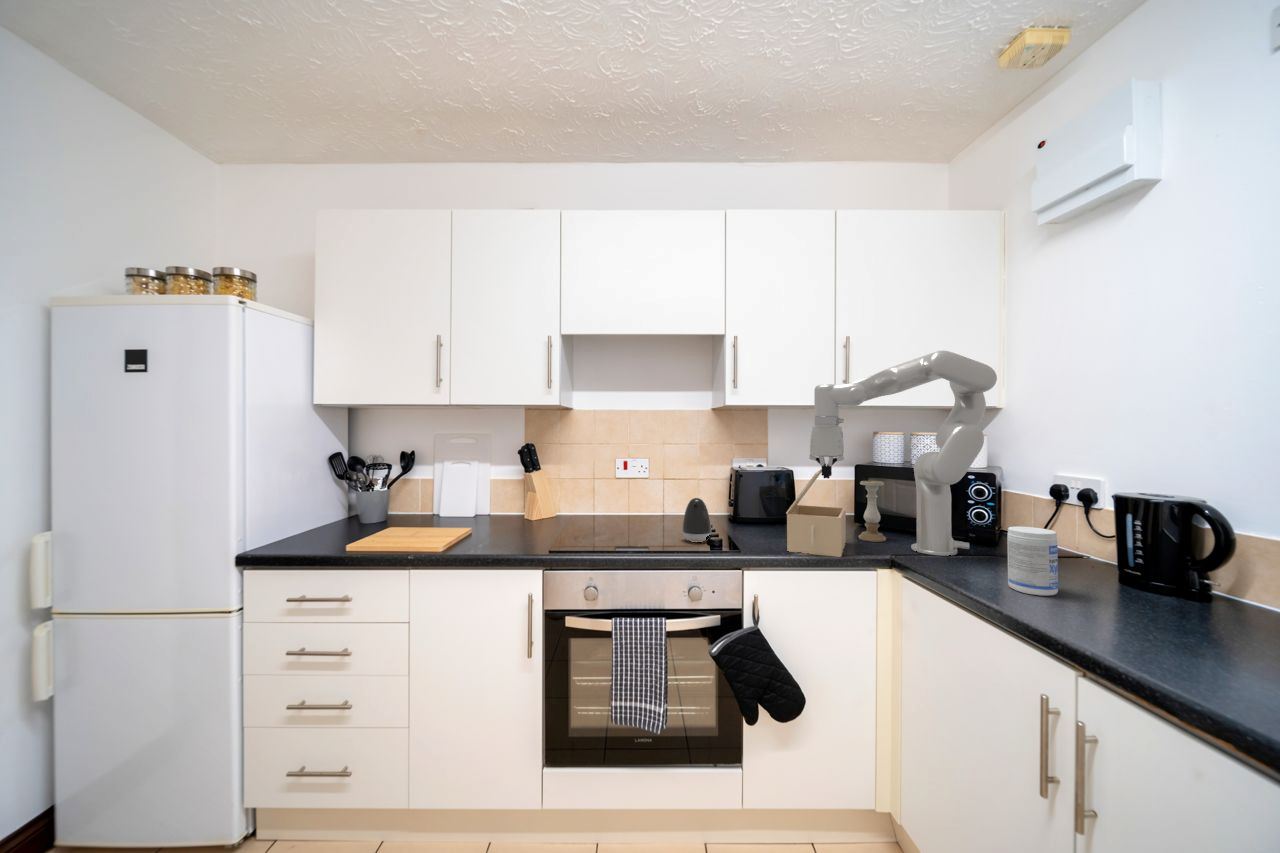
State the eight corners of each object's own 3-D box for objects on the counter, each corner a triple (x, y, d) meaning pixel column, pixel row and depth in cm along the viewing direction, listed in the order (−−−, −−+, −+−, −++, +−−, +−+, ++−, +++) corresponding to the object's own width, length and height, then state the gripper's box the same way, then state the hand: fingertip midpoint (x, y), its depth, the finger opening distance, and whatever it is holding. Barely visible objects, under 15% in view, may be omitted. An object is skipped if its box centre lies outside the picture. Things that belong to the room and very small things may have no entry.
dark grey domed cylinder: (679, 544, 169) (679, 499, 169) (684, 537, 179) (684, 495, 179) (709, 545, 166) (709, 500, 166) (712, 538, 176) (712, 496, 176)
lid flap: (823, 469, 172) (822, 468, 172) (816, 474, 154) (815, 472, 154) (796, 505, 176) (795, 503, 176) (787, 514, 158) (785, 512, 158)
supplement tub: (1063, 599, 113) (1062, 535, 113) (1011, 593, 117) (1011, 531, 118) (1052, 587, 121) (1051, 527, 121) (1004, 581, 126) (1004, 524, 126)
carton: (845, 543, 169) (845, 508, 169) (840, 560, 147) (839, 520, 147) (797, 538, 176) (796, 505, 176) (784, 554, 154) (784, 516, 154)
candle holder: (857, 540, 172) (857, 482, 172) (859, 535, 180) (859, 480, 180) (885, 543, 168) (885, 483, 168) (886, 538, 176) (886, 481, 176)
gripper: (851, 422, 162) (851, 478, 162) (804, 422, 168) (804, 476, 168) (850, 422, 155) (850, 480, 155) (801, 422, 162) (801, 478, 162)
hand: (826, 477), depth 162 cm, fingers closed
